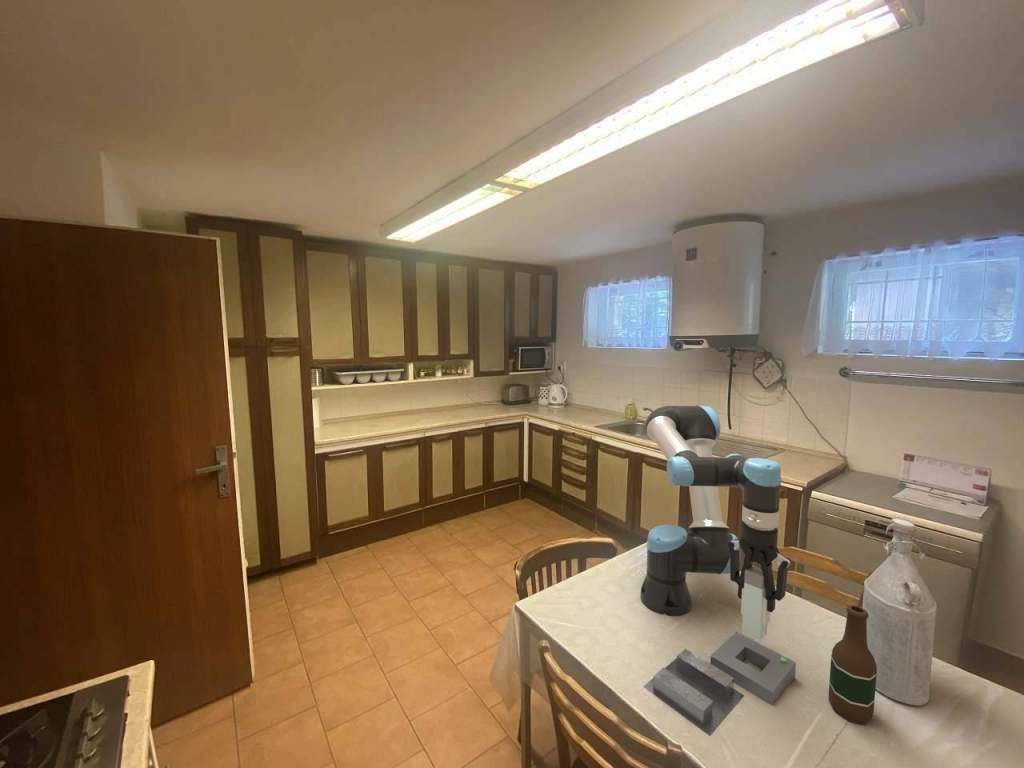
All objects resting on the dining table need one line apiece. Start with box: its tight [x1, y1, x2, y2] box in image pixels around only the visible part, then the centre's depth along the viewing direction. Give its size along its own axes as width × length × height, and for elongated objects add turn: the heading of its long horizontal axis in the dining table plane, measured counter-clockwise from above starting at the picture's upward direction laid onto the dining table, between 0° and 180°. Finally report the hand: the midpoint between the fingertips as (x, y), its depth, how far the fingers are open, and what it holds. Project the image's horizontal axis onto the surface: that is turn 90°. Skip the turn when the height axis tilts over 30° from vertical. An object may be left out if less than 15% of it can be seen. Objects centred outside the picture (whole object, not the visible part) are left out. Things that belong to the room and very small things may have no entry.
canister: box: [861, 518, 938, 706], centre depth 99 cm, size 13×17×40 cm
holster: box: [643, 648, 745, 737], centre depth 98 cm, size 16×16×4 cm
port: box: [709, 631, 797, 706], centre depth 103 cm, size 14×14×5 cm
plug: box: [741, 564, 768, 643], centre depth 102 cm, size 4×4×16 cm
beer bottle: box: [828, 604, 877, 726], centre depth 92 cm, size 8×8×24 cm
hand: (755, 616), depth 102 cm, fingers closed on plug, 4 cm apart
